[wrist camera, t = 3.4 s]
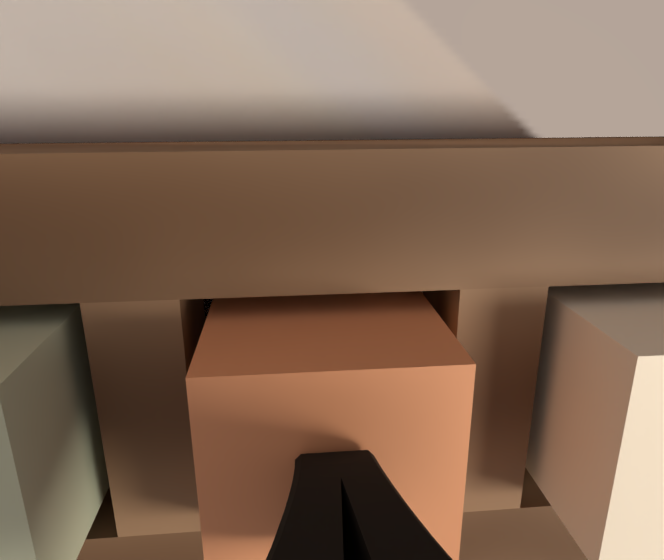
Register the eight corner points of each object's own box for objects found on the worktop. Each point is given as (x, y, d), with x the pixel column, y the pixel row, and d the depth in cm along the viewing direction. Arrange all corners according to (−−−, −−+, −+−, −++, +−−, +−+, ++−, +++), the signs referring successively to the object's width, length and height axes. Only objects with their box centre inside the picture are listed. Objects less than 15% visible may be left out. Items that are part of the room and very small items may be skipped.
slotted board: (672, 502, 18) (746, 576, 15) (-81, 557, 16) (-159, 655, 13) (759, 135, 14) (879, 142, 11) (-210, 145, 12) (-358, 158, 9)
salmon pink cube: (411, 463, 15) (456, 583, 11) (227, 474, 14) (208, 604, 10) (420, 291, 13) (476, 364, 9) (213, 298, 13) (184, 378, 9)
